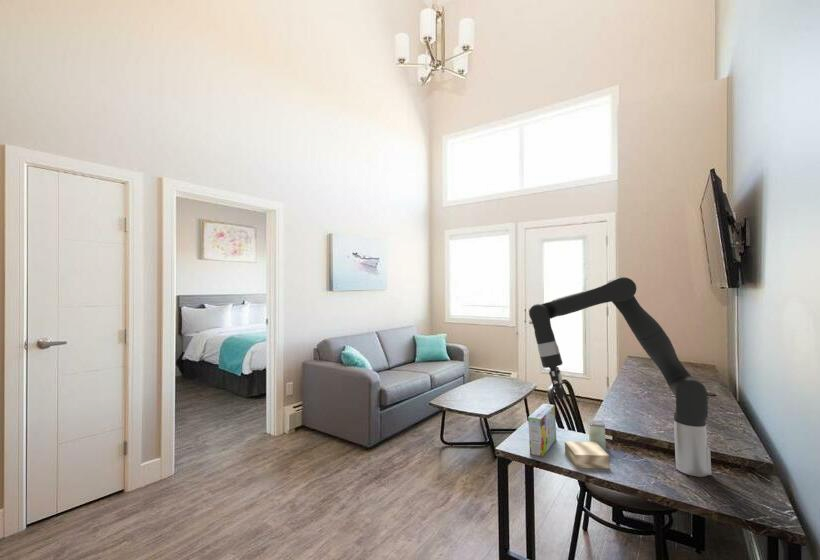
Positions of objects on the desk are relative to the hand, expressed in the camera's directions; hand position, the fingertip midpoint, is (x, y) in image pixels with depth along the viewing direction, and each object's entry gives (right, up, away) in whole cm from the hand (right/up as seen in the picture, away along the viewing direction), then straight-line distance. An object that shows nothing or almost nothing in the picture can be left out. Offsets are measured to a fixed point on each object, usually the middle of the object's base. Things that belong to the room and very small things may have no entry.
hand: (561, 396), depth 141 cm
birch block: (+10, -25, 0) cm, 27 cm away
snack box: (-2, -26, +13) cm, 29 cm away
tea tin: (+20, -25, +12) cm, 34 cm away
